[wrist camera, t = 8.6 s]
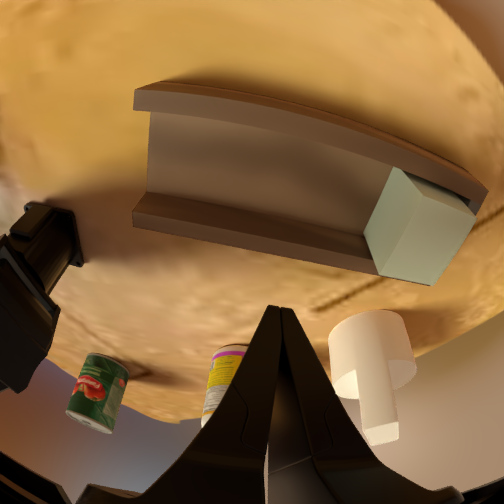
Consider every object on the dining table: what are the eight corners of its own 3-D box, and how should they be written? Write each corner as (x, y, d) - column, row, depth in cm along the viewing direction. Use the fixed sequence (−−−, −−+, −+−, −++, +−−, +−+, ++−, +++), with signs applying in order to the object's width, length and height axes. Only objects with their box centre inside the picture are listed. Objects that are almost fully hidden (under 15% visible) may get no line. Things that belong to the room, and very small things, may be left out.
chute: (416, 257, 22) (429, 286, 20) (150, 200, 21) (132, 226, 18) (464, 168, 17) (488, 190, 14) (158, 81, 15) (134, 89, 12)
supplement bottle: (276, 364, 34) (272, 461, 24) (232, 372, 37) (221, 462, 27) (249, 337, 31) (239, 450, 21) (202, 348, 33) (183, 449, 23)
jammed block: (413, 245, 20) (433, 285, 17) (363, 232, 20) (378, 274, 17) (446, 184, 17) (477, 218, 13) (394, 162, 17) (423, 195, 13)
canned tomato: (99, 348, 37) (75, 412, 28) (138, 374, 41) (121, 435, 32) (80, 356, 40) (59, 411, 32) (115, 379, 44) (99, 432, 35)
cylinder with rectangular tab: (405, 342, 31) (425, 431, 21) (337, 362, 34) (344, 451, 24) (402, 299, 26) (433, 409, 16) (318, 324, 29) (326, 436, 19)
